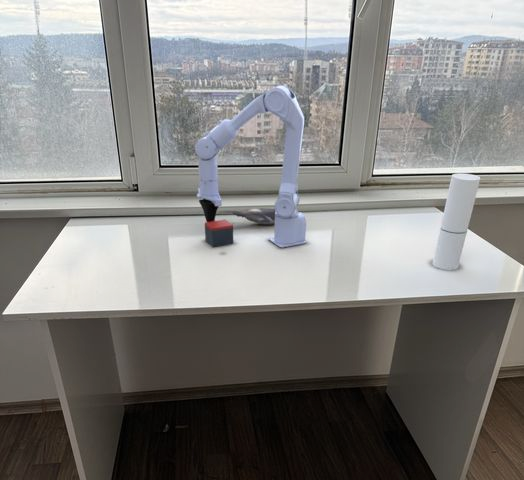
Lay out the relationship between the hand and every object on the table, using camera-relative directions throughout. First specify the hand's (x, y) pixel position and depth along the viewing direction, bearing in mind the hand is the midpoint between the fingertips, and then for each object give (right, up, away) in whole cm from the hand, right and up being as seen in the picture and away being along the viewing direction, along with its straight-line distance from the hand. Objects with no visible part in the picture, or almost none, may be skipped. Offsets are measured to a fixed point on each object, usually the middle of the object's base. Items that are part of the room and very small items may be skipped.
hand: (210, 222), depth 159 cm
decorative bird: (+14, +2, +12) cm, 19 cm away
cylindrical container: (+70, -16, -15) cm, 74 cm away
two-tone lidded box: (+3, -7, -3) cm, 8 cm away
